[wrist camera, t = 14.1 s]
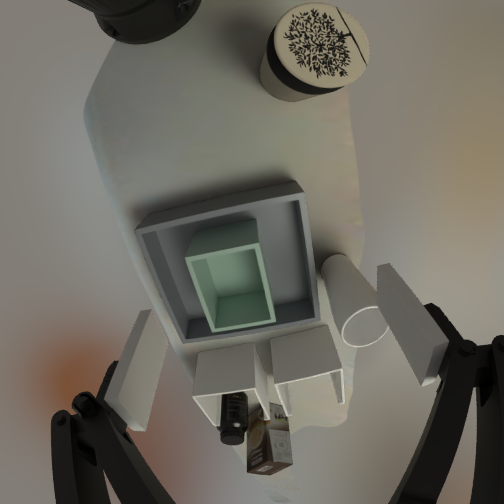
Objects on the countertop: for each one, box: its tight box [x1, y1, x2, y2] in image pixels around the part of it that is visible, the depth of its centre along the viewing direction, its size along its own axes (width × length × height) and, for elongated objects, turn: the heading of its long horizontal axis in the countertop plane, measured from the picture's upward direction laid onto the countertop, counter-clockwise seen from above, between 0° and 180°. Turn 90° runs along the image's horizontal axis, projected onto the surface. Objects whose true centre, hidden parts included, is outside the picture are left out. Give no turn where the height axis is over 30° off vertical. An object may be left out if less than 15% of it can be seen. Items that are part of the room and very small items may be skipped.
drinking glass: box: [321, 254, 389, 347], centre depth 39 cm, size 7×7×15 cm
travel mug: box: [260, 3, 370, 102], centre depth 25 cm, size 8×8×18 cm
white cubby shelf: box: [192, 325, 345, 426], centre depth 50 cm, size 25×11×11 cm, turn 105°
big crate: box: [134, 181, 321, 344], centre depth 42 cm, size 20×22×6 cm
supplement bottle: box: [216, 391, 249, 445], centre depth 55 cm, size 7×7×12 cm
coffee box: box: [247, 403, 293, 475], centre depth 57 cm, size 9×6×16 cm
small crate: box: [185, 219, 276, 332], centre depth 40 cm, size 12×9×8 cm
